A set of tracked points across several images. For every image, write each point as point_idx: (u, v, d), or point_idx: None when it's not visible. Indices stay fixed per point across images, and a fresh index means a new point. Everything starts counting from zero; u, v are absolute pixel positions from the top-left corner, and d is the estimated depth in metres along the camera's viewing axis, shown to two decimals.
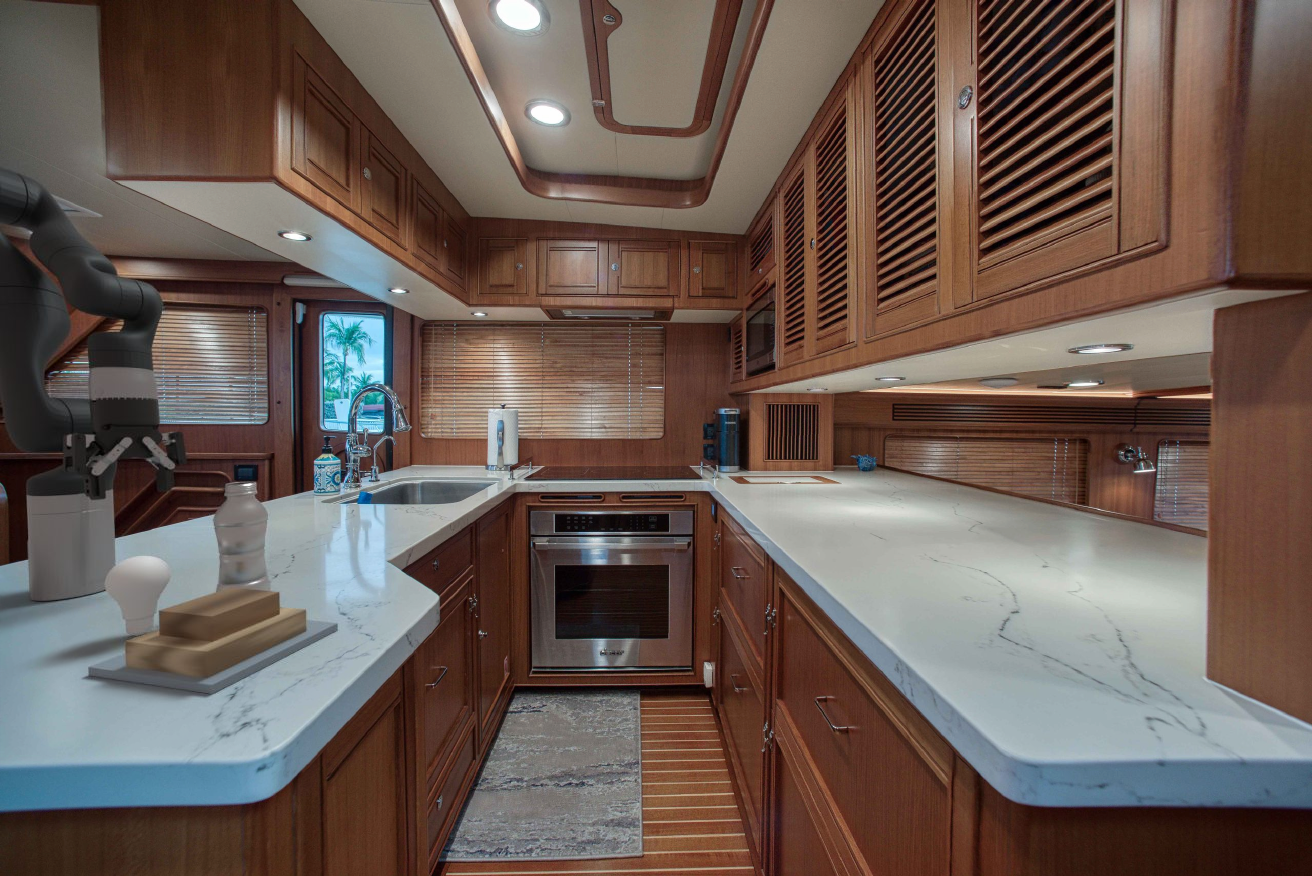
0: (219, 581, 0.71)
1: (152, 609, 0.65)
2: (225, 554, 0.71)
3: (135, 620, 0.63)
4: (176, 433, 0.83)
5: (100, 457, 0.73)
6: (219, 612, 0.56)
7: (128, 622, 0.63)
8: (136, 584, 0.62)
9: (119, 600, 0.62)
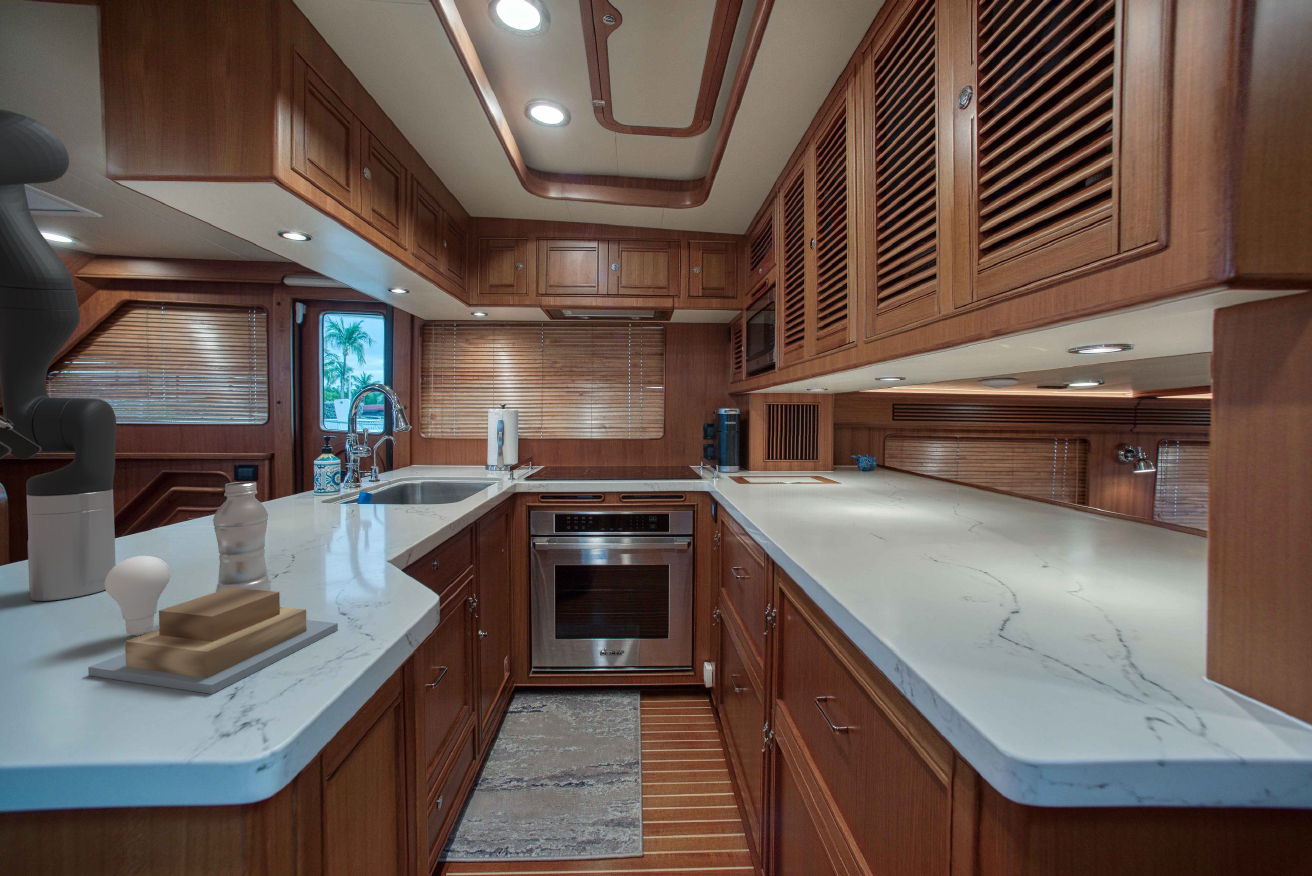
0: (219, 581, 0.71)
1: (152, 609, 0.65)
2: (225, 554, 0.71)
3: (135, 620, 0.63)
4: None
5: None
6: (219, 612, 0.56)
7: (128, 622, 0.63)
8: (136, 584, 0.62)
9: (119, 600, 0.62)
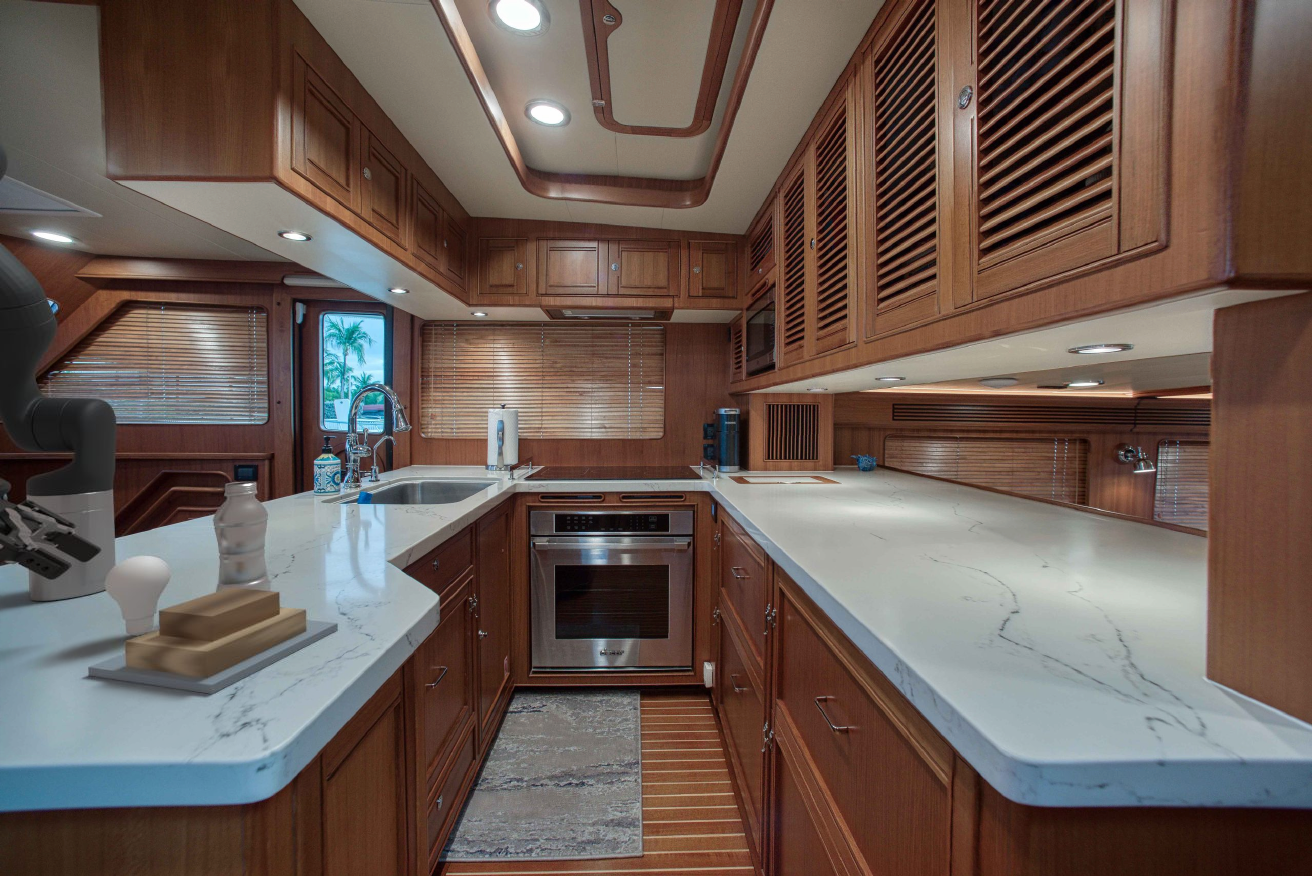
0: (219, 581, 0.71)
1: (152, 609, 0.65)
2: (225, 554, 0.71)
3: (135, 620, 0.63)
4: None
5: None
6: (219, 612, 0.56)
7: (128, 622, 0.63)
8: (136, 584, 0.62)
9: (119, 600, 0.62)
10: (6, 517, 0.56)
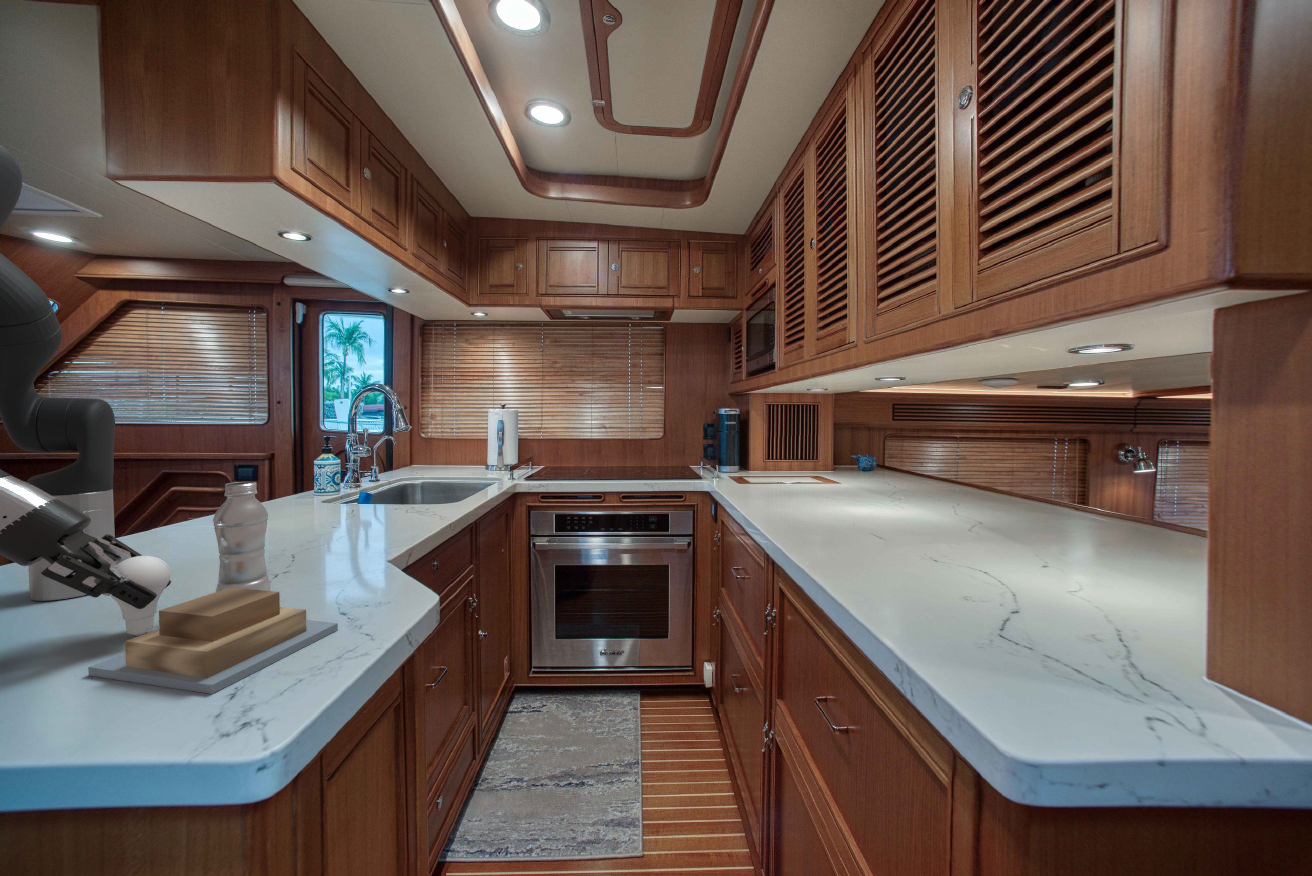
0: (219, 581, 0.71)
1: (152, 609, 0.65)
2: (225, 554, 0.71)
3: (135, 620, 0.63)
4: None
5: None
6: (219, 612, 0.56)
7: (128, 622, 0.63)
8: None
9: (119, 600, 0.62)
10: (92, 552, 0.60)
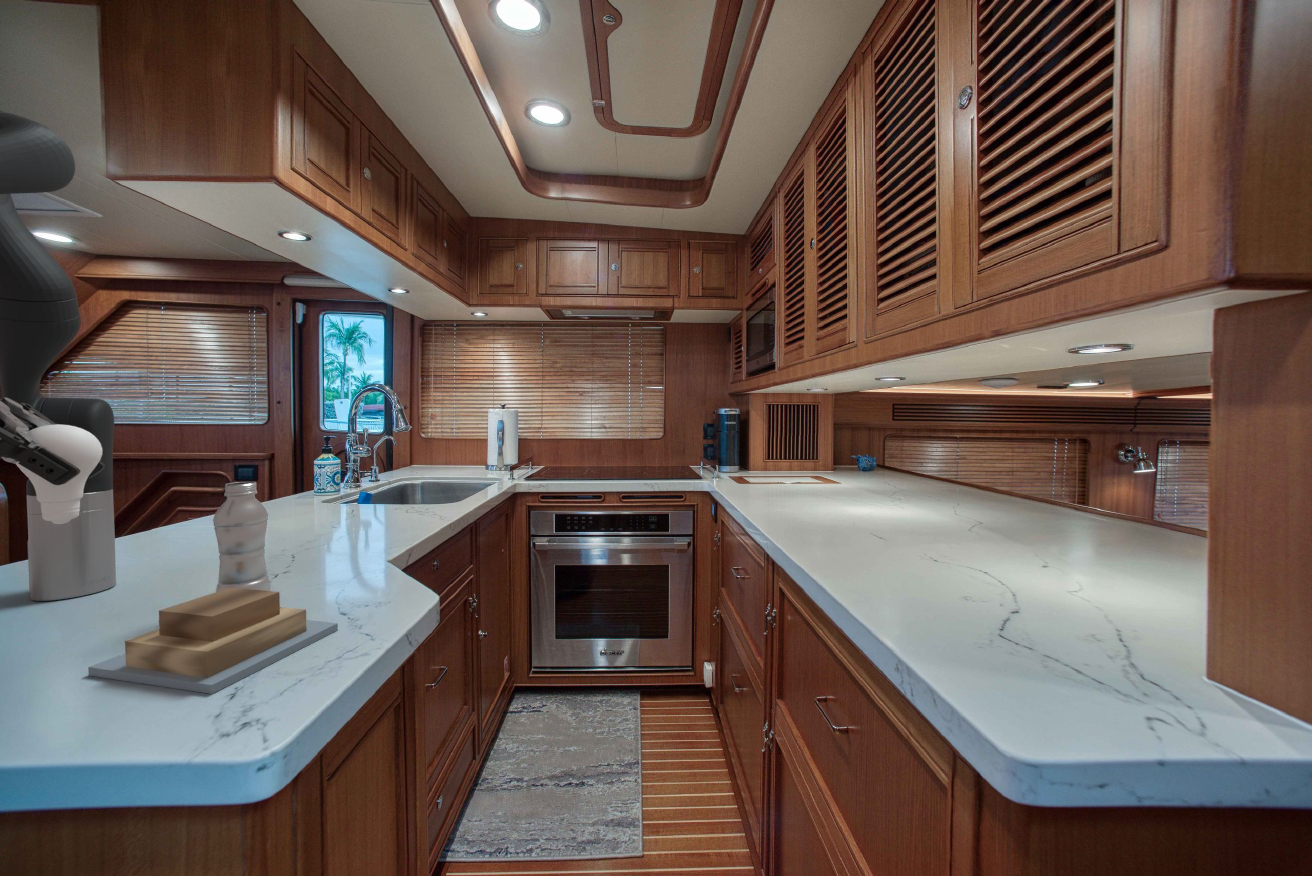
0: (219, 581, 0.71)
1: (76, 491, 0.52)
2: (225, 554, 0.71)
3: (53, 502, 0.50)
4: None
5: None
6: (219, 612, 0.56)
7: (43, 505, 0.50)
8: None
9: (30, 474, 0.49)
10: None
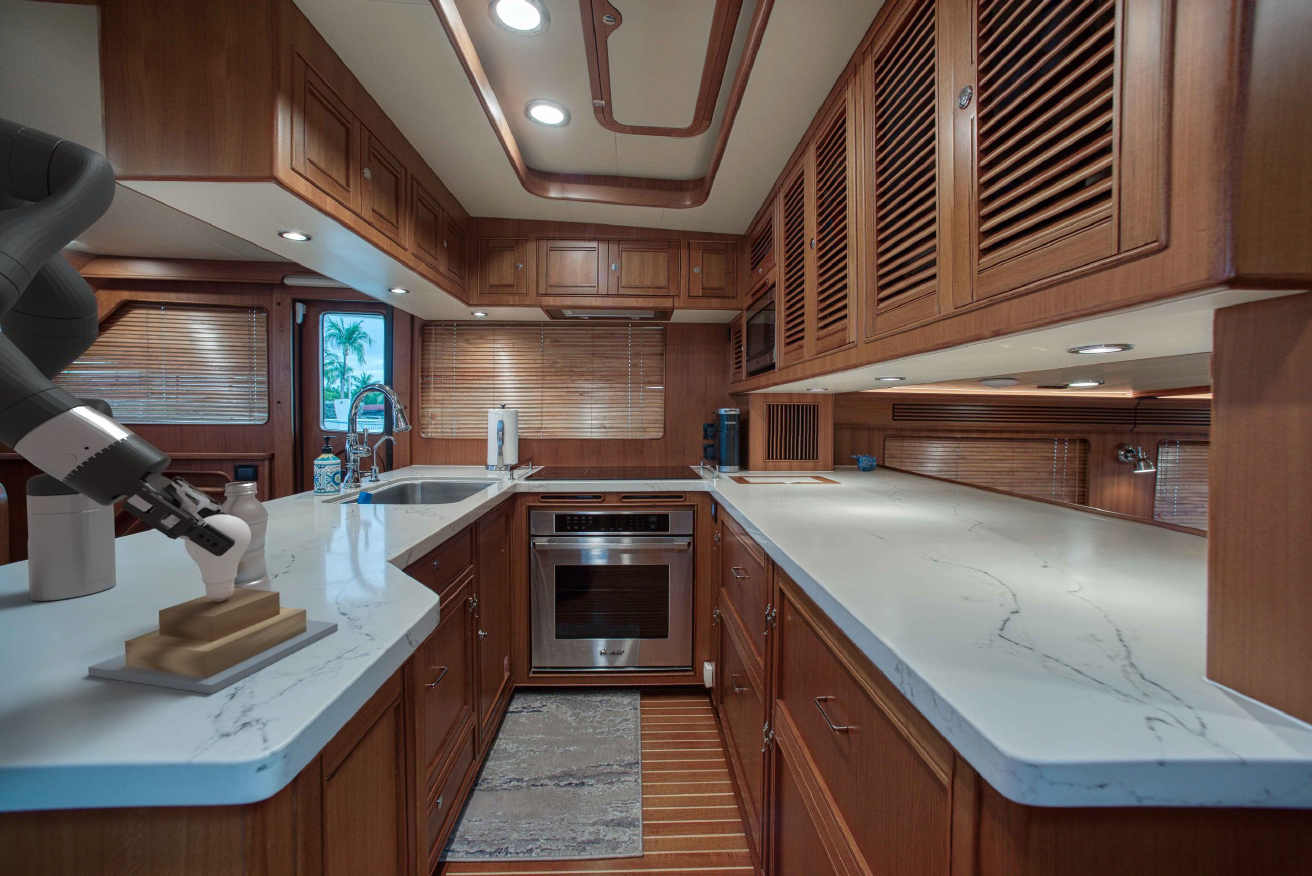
0: None
1: (233, 573, 0.59)
2: None
3: (216, 584, 0.58)
4: None
5: None
6: (219, 612, 0.56)
7: (209, 586, 0.58)
8: None
9: (200, 562, 0.57)
10: (173, 492, 0.55)
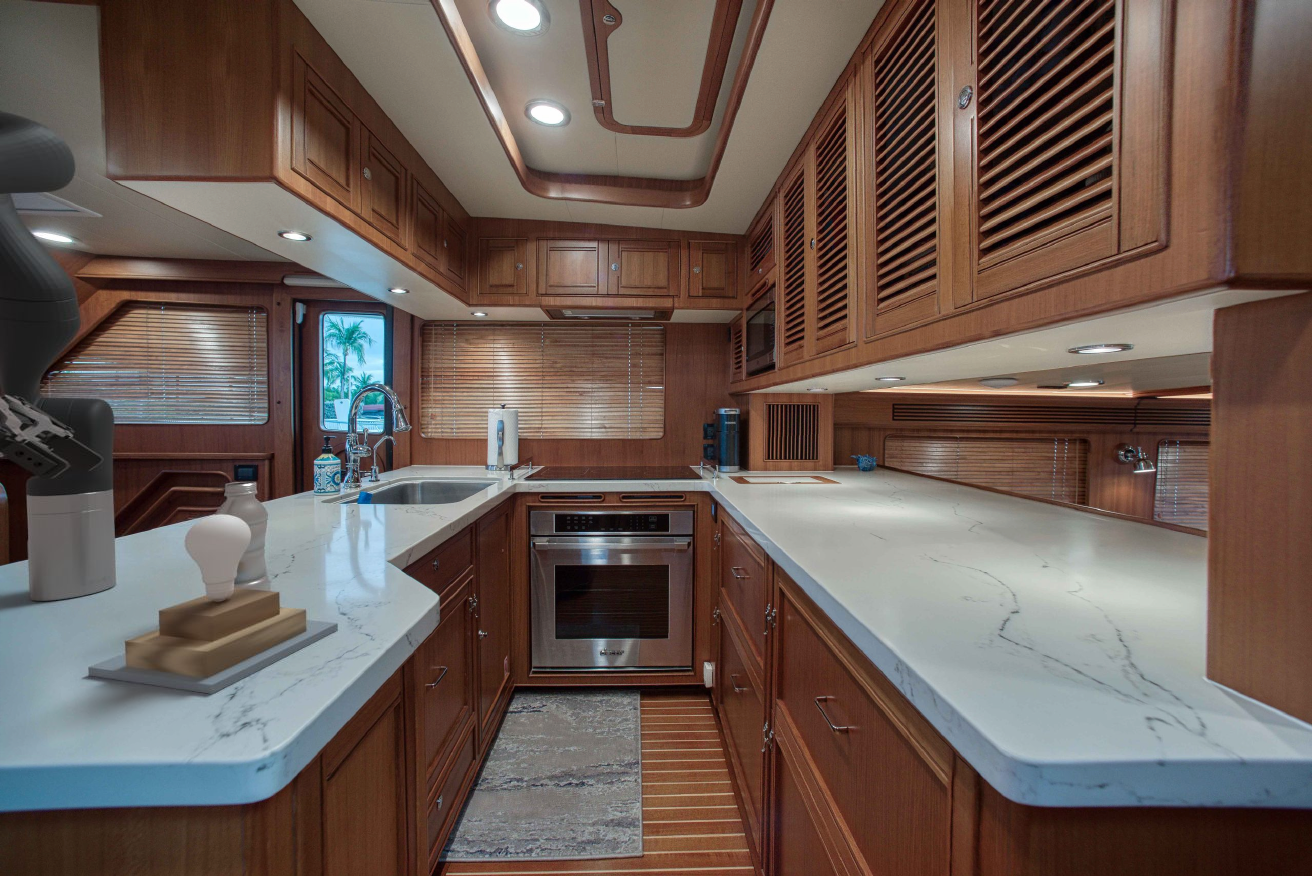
0: None
1: (233, 573, 0.59)
2: None
3: (216, 584, 0.58)
4: None
5: None
6: (219, 612, 0.56)
7: (209, 586, 0.58)
8: (220, 544, 0.57)
9: (200, 562, 0.57)
10: None
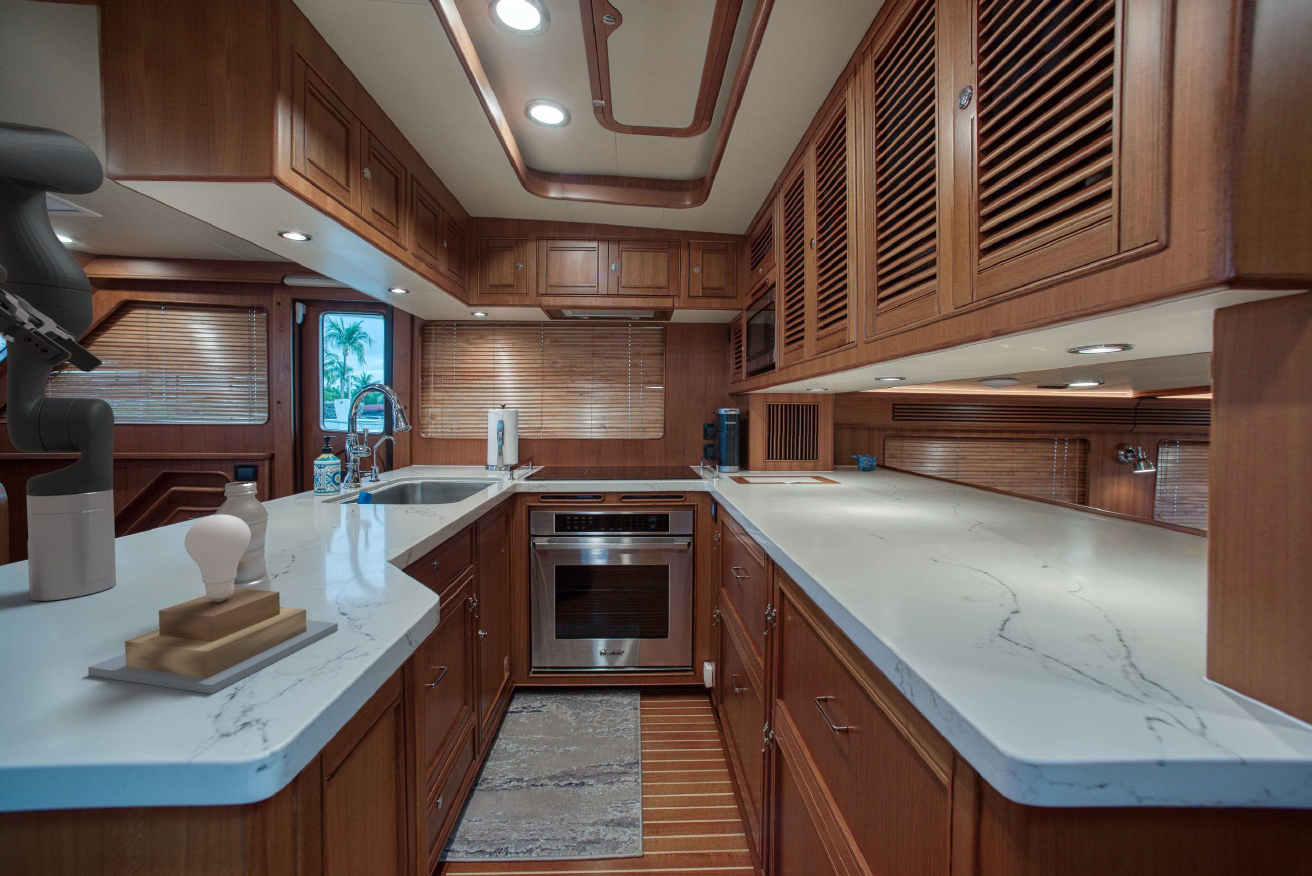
0: None
1: (233, 573, 0.59)
2: None
3: (216, 584, 0.58)
4: None
5: None
6: (219, 612, 0.56)
7: (208, 586, 0.58)
8: (220, 544, 0.57)
9: (200, 562, 0.57)
10: (2, 297, 0.53)
